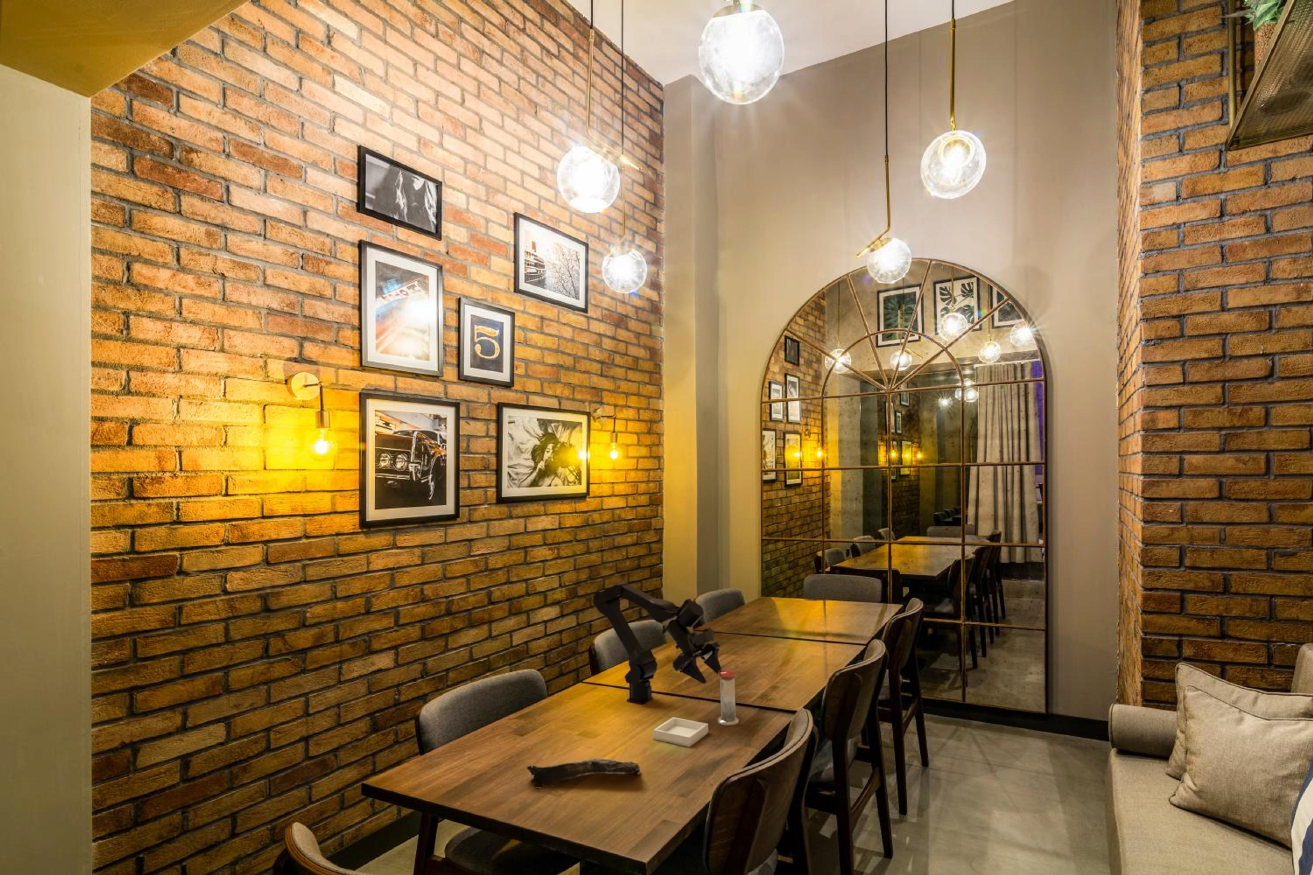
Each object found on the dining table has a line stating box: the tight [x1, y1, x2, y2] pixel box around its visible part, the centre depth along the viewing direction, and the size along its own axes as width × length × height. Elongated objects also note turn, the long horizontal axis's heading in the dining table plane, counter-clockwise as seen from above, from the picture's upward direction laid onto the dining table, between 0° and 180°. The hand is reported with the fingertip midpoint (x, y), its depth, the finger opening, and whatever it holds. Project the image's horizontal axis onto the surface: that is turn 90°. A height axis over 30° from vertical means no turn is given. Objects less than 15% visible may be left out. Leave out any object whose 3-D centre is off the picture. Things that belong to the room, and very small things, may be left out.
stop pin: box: [717, 668, 740, 727], centre depth 195 cm, size 6×6×15 cm
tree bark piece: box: [526, 757, 641, 788], centre depth 158 cm, size 27×9×10 cm
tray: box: [652, 716, 709, 748], centre depth 185 cm, size 11×11×2 cm
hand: (713, 678), depth 199 cm, fingers open, 9 cm apart
